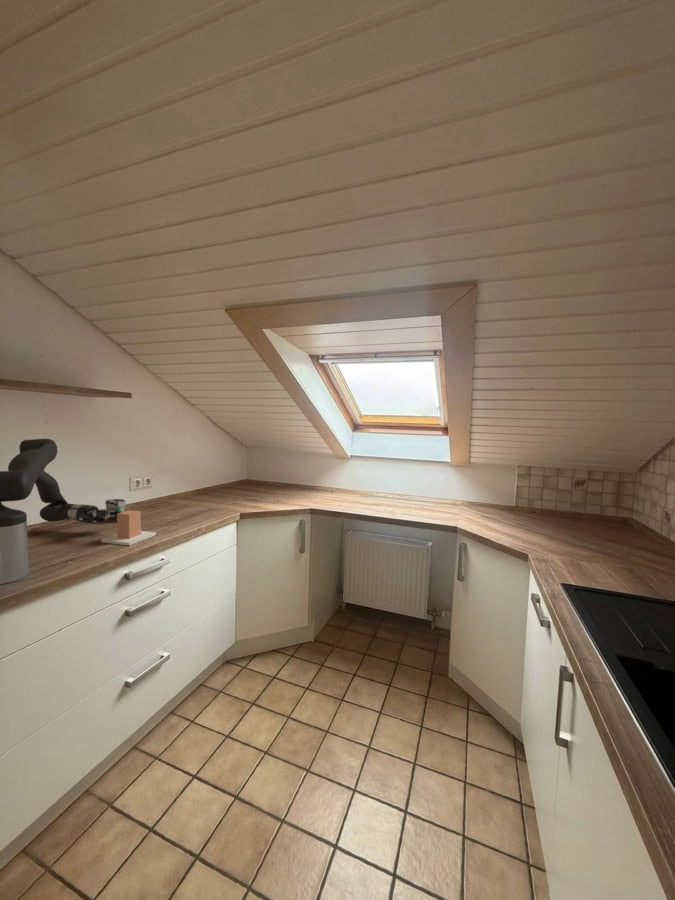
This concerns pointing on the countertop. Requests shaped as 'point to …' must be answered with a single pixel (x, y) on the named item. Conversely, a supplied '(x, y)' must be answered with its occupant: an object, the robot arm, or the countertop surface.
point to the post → (125, 541)
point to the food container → (115, 507)
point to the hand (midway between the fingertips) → (113, 516)
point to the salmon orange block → (128, 524)
